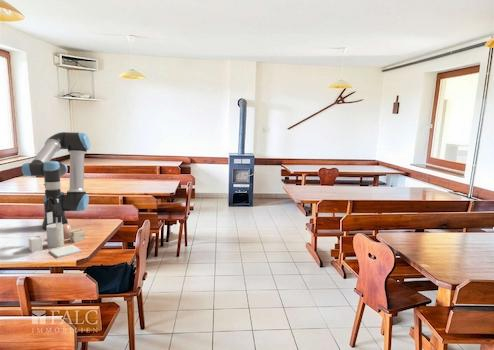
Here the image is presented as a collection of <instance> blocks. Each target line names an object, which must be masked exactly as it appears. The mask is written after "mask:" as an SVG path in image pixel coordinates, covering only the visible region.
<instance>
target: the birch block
mask: <svg viewBox="0 0 494 350" xmlns="http://www.w3.org/2000/svg"><path fill="white" fill-rule="evenodd" d="M85 233H86V232H85V230H84V229H82V228H77V229H71V231H70V238H69V240H70V242H71V243H73V244H75V243H80V242H84V241H86V236H85V235H86V234H85Z"/></svg>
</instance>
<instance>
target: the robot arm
mask: <svg viewBox="0 0 494 350" xmlns="http://www.w3.org/2000/svg"><path fill="white" fill-rule="evenodd" d="M90 143H91V142H90V139H89V135H88V134H87V133H85V132H70V131H69V132H66V131H62V132H58V133H55V134H53V135H51V136H49V138H47V139H46V141H44V145H43V147H42V148H41V150H39V152H38V153H37V154H36V156H35V157H33V159H32V161H31V162H26V163H23V164H22V166H21V172H22V173H21V174H22V175H23V176H26V177H44V183H43V186H44V189H45V190H44V196H43V210H44V218H43V221H42V224H41V225H42V229H43V230H47V228H46V226H47V225H49V224H55V223H56V229H57V228H62V224H69V221H68V218H67V216H66V215H65V212H84V211H86V210H87V208H88V206H89V203H90V202H89V201H90V195H89V194H88V193H87V190H85V188H84V187H85V186H84V184H85V183H84V181H85V180H84V179H85V154H87V152H88V151H89V150H90V149H91V148H90V147H91V144H90ZM60 150H67V152H68V154H69V168H68V166H67V164H65V163H63V162H59V161H56V160H55V161H54V160H52V158H53V157H54V156H55V154H56V153H58V152H59V151H60ZM68 169H69V189H68V190H67V191H66V194H65V193H64V192H63V191H61V177H62V176H65V175H66V174H67V172H68Z"/></svg>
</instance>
